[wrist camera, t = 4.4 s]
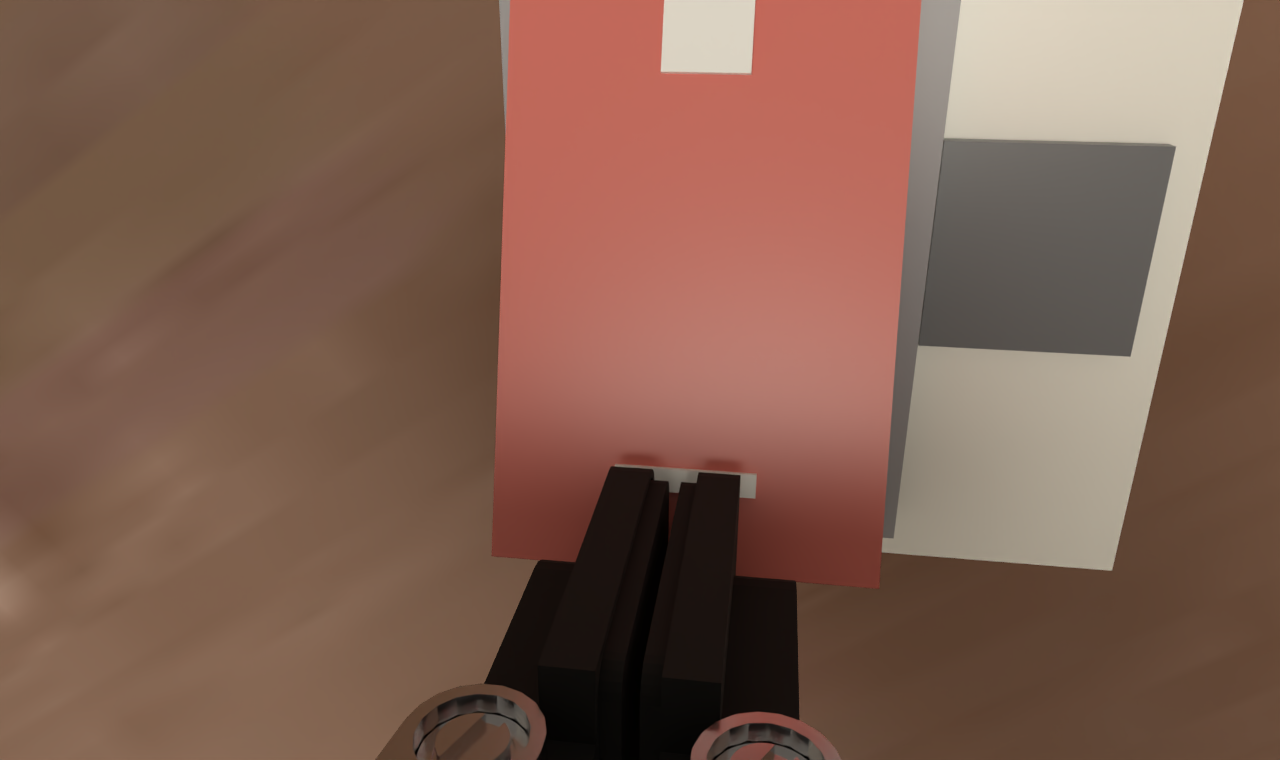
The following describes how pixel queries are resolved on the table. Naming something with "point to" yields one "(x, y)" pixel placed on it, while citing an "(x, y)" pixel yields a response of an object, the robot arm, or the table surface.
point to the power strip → (1040, 264)
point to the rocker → (705, 268)
